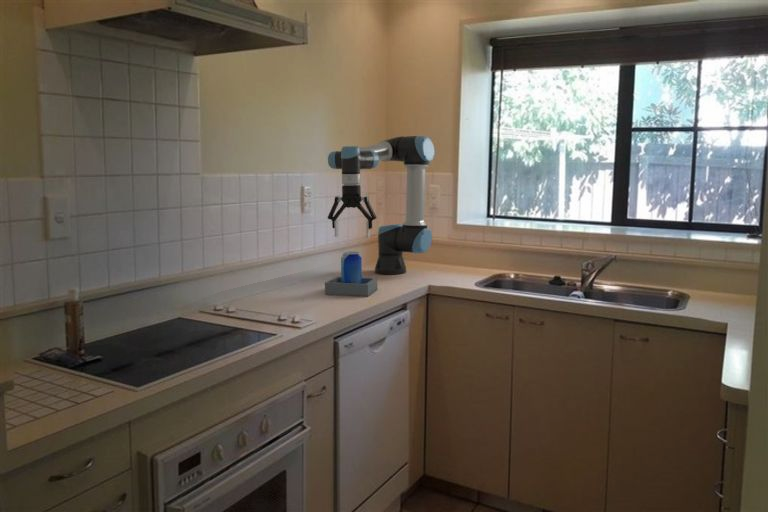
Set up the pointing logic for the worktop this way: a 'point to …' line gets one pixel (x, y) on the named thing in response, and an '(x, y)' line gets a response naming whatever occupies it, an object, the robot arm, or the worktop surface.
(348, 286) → the caddy
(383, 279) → the worktop surface
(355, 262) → the beer can
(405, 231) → the robot arm
